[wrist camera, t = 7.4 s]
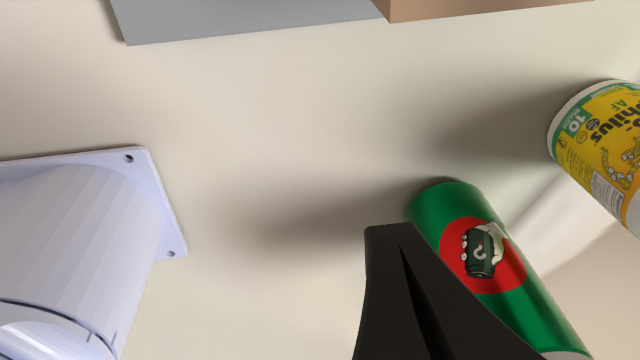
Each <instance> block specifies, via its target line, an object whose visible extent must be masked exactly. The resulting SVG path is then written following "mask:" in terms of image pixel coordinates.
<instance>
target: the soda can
mask: <svg viewBox="0 0 640 360" xmlns="http://www.w3.org/2000/svg"><path fill="white" fill-rule="evenodd" d="M404 222H412V223H414V224H415V225H416V227H417V228H418V229H419V231H420V232H421V234H422V235H423V236H424V237H425V239H426V240H427V241H428V243H429V244H430V245H431V246H432V248H433V249H434V250H435V251H436V252H437V254H438V255H439V256H440V257H441V259H442V260H443V261H444V262H445V263H446V264H447V266H448V267H449V268H450V269H451V270H452V271H453V272H454V273H455V274H456V275H457V277H458V278H459V279H460V280H461V281H462V282H463V283H464V284H465V285H466V286H467V287H468V288H469V290H470V291H471V292H472V293H473V294H474V295H475V296H476V297H477V298H478V299H479V300H480V301H481V302H482V303H483V304H484V305H485V306H486V307H487V308H488V309H489V310H491V311H492V312H493V313H494V314H495V315H496V316H497V317H498V318H499V319H500V320H501V321H502V322H503V323H504V324H506V325H507V326H508V327H509V328H510V329H511V330H512V331H514V332H515V333H516V334H517V335H518V336H519V337H520V338H522V339H523V340H524V341H525V342H526V343H528V344H529V345H530V346H531V347H532V348H534V349H535V350H536V351H537V352H539V353H540V354H541V355H542V356H543V357H545V358H546V359H547V360H594V359H593V357H592V355H591V354H590V352H589V351H588V350H587V348H586V347H585V345H584V344H583V342H582V341H581V339H580V338H579V336H578V335H577V333H576V332H575V330H574V329H573V327H572V326H571V324H570V323H569V321H568V320H567V318H566V317H565V315H564V314H563V312H562V311H561V309H560V308H559V307H558V305H557V304H556V302H555V300H554V299H553V297H552V296H551V295H550V293H549V292H548V290H547V289H546V287H545V286H544V284H543V283H542V281H541V280H540V278H539V277H538V275H537V274H536V272H535V271H534V269H533V268H532V266H531V265H530V263H529V262H528V260H527V259H526V257H525V256H524V254H523V253H522V251H521V250H520V249H519V247H518V246H517V244H516V243H515V241H514V240H513V238H512V237H511V235H510V234H509V232H508V231H507V229H506V228H505V226H504V225H503V223H502V222H501V220H500V219H499V217H498V216H497V214H496V213H495V211H494V210H493V208H492V207H491V205H490V204H489V202H488V201H487V200H486V198H485V197H484V195H483V194H482V192H481V191H480V190H479V189H478V188H476V187H475V186H473V185H471V184H468V183H464V182H443V183H439V184H435V185H433V186H430V187H428V188H427V189H425V190H423V191H422V192H421V193H419V194H418V195H417V196H416V197H415V198H414V199H413V201H412V202H411V203H410V205H409V206H408V208H407V210H406V213H405V217H404Z"/></svg>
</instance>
